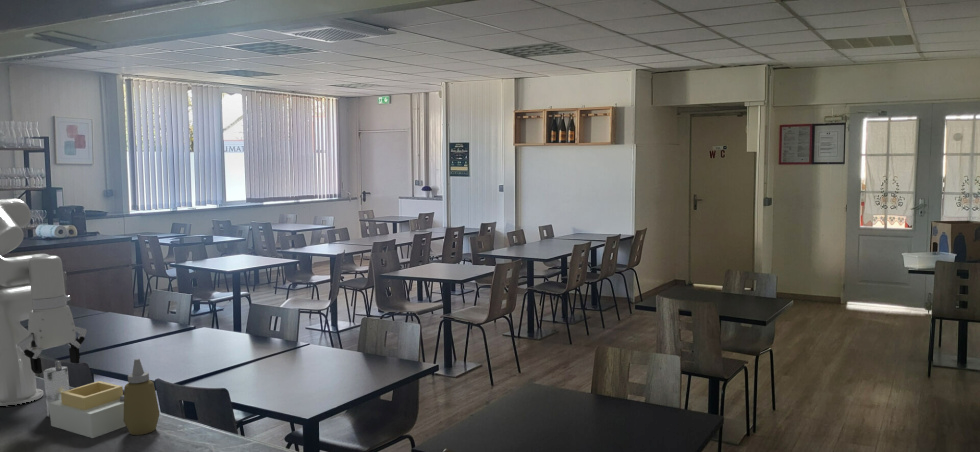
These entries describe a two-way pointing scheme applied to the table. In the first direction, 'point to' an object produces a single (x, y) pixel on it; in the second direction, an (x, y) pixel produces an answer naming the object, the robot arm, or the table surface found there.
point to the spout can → (55, 383)
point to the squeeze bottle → (140, 402)
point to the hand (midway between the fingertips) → (56, 367)
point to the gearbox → (89, 409)
